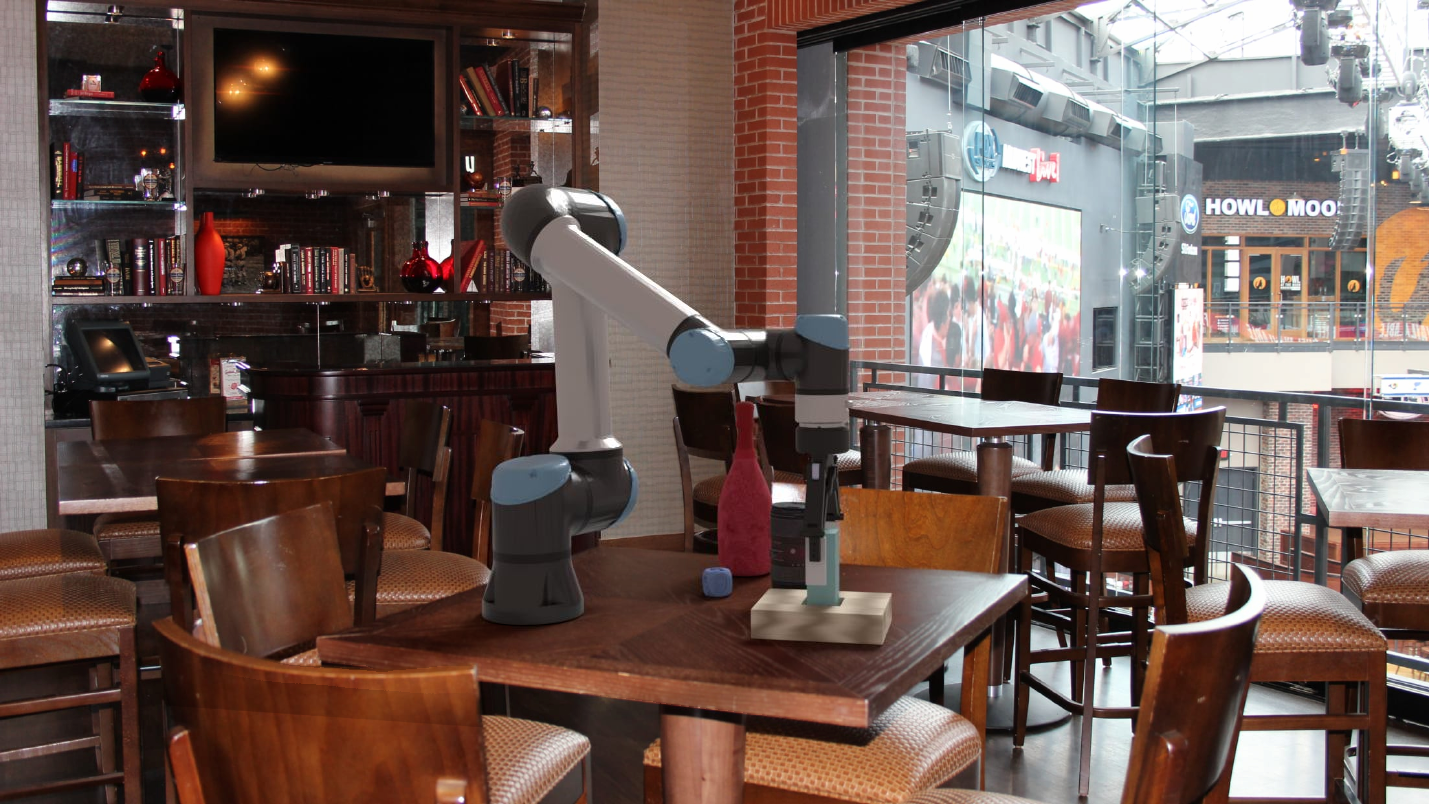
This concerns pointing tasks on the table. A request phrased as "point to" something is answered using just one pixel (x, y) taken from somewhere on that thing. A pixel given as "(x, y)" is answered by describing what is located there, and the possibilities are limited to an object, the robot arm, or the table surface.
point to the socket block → (822, 617)
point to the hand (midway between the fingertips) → (823, 575)
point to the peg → (828, 574)
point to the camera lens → (787, 546)
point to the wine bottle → (745, 506)
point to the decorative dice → (717, 582)
